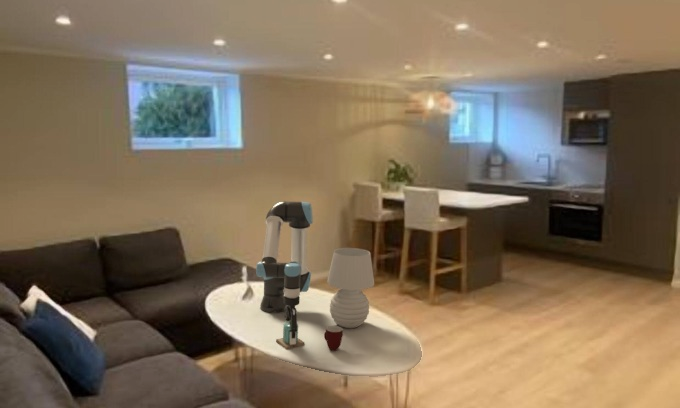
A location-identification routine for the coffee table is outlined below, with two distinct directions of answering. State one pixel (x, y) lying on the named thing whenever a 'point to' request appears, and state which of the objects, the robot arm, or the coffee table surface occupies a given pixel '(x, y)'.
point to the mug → (333, 337)
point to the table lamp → (350, 286)
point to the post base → (289, 344)
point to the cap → (288, 333)
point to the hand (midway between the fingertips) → (290, 338)
